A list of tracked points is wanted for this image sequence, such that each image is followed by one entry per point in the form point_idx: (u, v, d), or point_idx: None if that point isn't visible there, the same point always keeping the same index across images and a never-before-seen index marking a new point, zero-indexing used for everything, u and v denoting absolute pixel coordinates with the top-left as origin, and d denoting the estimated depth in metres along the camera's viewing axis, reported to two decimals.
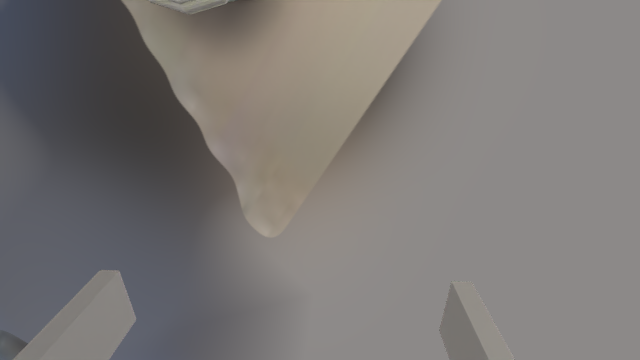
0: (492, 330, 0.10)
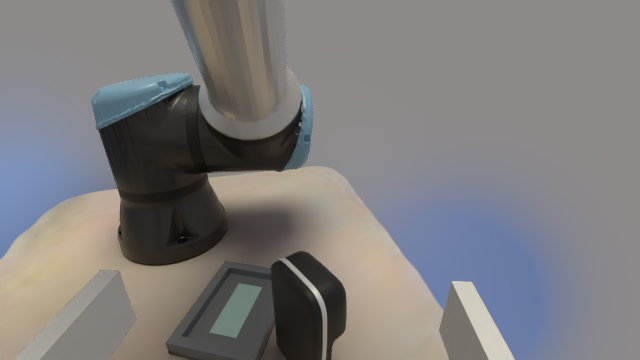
0: (492, 330, 0.10)
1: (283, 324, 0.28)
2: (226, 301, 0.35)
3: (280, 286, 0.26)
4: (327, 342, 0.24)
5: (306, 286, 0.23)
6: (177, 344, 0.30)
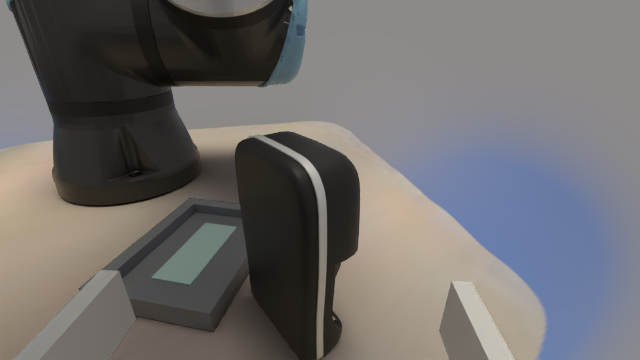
0: (492, 330, 0.10)
1: (257, 251, 0.17)
2: (184, 242, 0.25)
3: (248, 180, 0.16)
4: (327, 265, 0.14)
5: (289, 157, 0.13)
6: None
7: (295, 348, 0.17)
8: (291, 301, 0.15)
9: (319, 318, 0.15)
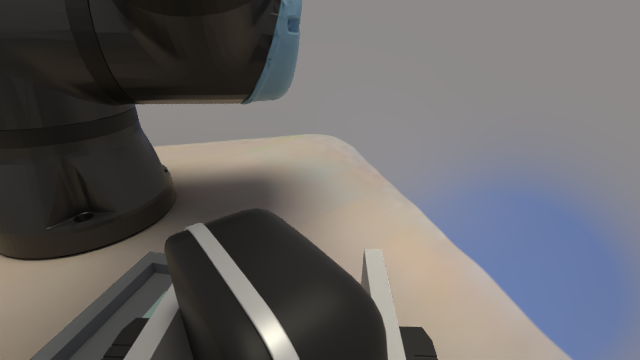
0: (384, 285, 0.11)
1: None
2: None
3: (184, 306, 0.09)
4: None
5: (242, 311, 0.06)
6: None
7: None
8: None
9: None
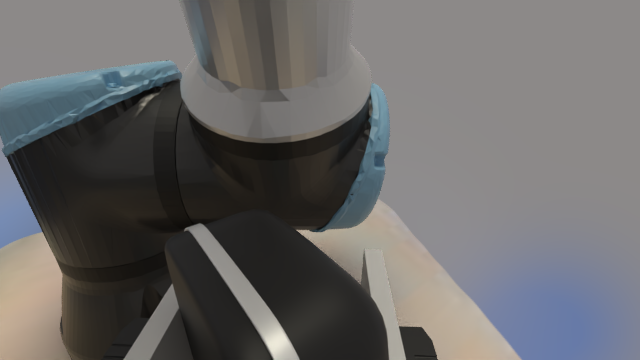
0: (384, 285, 0.11)
1: None
2: None
3: (184, 308, 0.09)
4: None
5: (242, 312, 0.06)
6: None
7: None
8: None
9: None
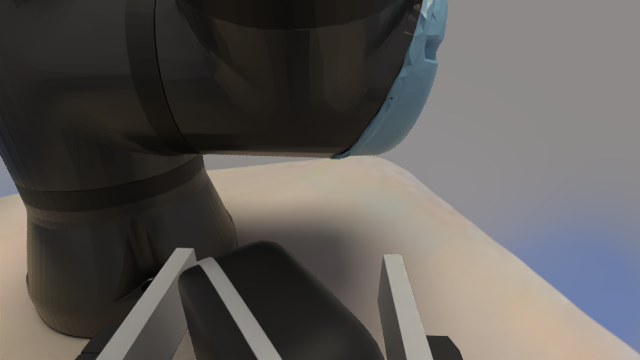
0: (407, 292, 0.11)
1: None
2: None
3: (196, 339, 0.09)
4: None
5: (253, 357, 0.07)
6: None
7: None
8: None
9: None
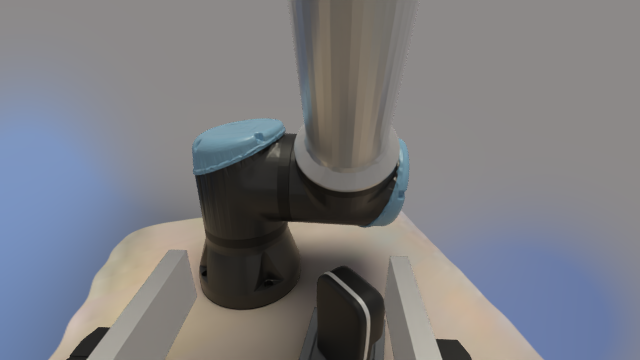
0: (415, 295, 0.11)
1: (327, 329, 0.32)
2: None
3: (326, 296, 0.30)
4: (368, 345, 0.29)
5: (352, 296, 0.28)
6: None
7: None
8: None
9: None
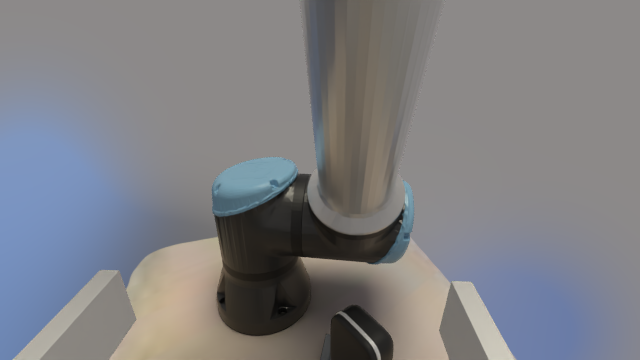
0: (492, 330, 0.10)
1: None
2: None
3: (340, 334, 0.34)
4: None
5: (364, 338, 0.31)
6: None
7: None
8: None
9: None
